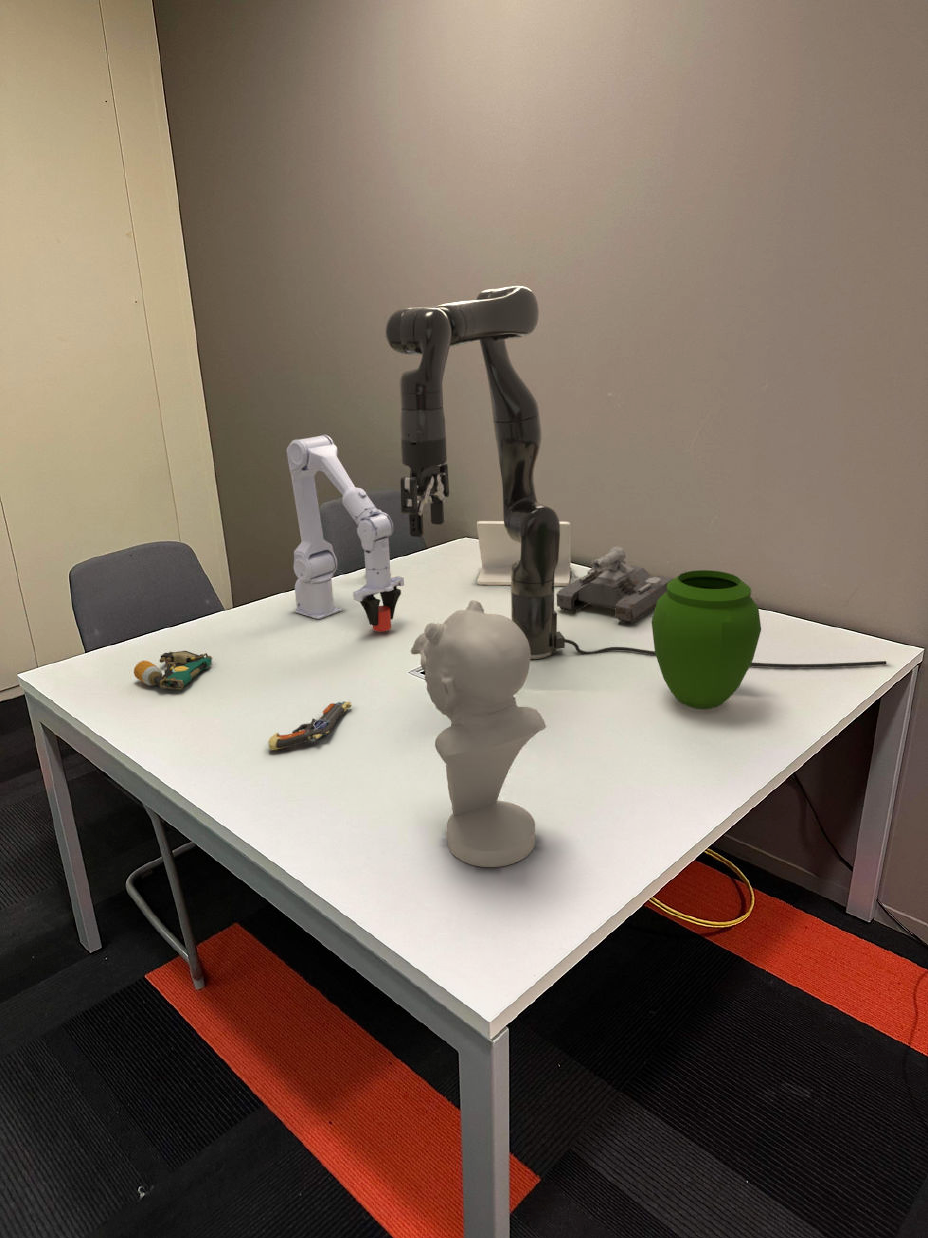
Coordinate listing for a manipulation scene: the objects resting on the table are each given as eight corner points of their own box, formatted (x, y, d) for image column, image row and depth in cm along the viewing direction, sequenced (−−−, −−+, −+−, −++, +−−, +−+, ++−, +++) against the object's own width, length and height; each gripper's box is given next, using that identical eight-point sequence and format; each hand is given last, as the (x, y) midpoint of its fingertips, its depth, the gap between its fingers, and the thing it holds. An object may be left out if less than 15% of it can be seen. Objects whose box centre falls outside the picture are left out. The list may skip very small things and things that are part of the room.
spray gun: (177, 659, 191) (231, 671, 185) (120, 684, 176) (176, 698, 171) (176, 641, 190) (230, 653, 184) (118, 665, 175) (174, 678, 169)
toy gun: (263, 740, 148) (317, 738, 146) (303, 699, 166) (351, 696, 163) (266, 754, 148) (320, 752, 146) (305, 712, 166) (354, 709, 164)
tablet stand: (569, 585, 229) (570, 524, 223) (476, 584, 232) (475, 523, 226) (570, 566, 246) (571, 508, 240) (484, 564, 249) (483, 507, 243)
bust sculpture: (481, 772, 140) (476, 569, 128) (565, 848, 120) (569, 617, 108) (392, 800, 134) (378, 588, 121) (465, 886, 114) (457, 642, 101)
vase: (765, 692, 165) (778, 572, 157) (736, 734, 150) (748, 603, 142) (668, 672, 175) (675, 558, 167) (631, 709, 160) (637, 586, 151)
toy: (603, 584, 229) (605, 530, 224) (673, 597, 218) (677, 540, 213) (555, 612, 210) (556, 553, 205) (630, 627, 199) (633, 566, 194)
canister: (370, 626, 203) (369, 607, 201) (388, 623, 204) (387, 604, 202) (375, 632, 199) (373, 613, 197) (393, 629, 200) (392, 610, 199)
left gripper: (366, 577, 189) (370, 634, 193) (412, 561, 199) (414, 616, 204) (345, 572, 193) (349, 627, 198) (390, 556, 203) (393, 610, 208)
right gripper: (421, 428, 150) (425, 518, 156) (383, 441, 138) (389, 538, 143) (460, 429, 147) (463, 521, 153) (425, 443, 135) (429, 542, 140)
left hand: (381, 621), depth 201 cm, fingers closed on canister, 4 cm apart
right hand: (427, 529), depth 148 cm, fingers open, 8 cm apart
